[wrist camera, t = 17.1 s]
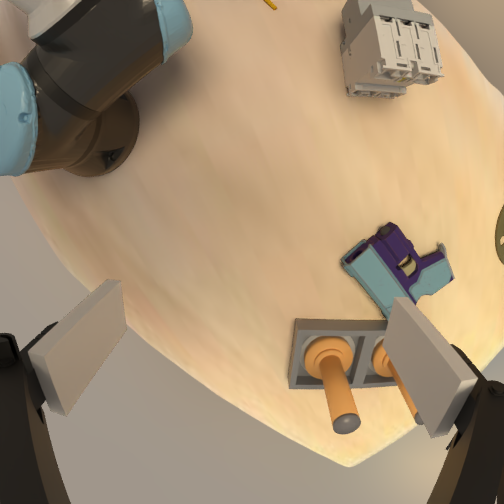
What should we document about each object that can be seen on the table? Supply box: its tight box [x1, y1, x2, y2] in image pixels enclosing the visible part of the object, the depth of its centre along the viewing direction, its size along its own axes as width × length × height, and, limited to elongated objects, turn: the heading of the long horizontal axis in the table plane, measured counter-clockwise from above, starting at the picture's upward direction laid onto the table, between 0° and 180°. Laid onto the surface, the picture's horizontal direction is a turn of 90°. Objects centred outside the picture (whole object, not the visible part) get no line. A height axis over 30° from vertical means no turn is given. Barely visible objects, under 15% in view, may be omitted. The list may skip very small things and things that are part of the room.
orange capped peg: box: [371, 338, 424, 425], centre depth 42 cm, size 8×8×17 cm
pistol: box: [341, 222, 455, 321], centre depth 45 cm, size 4×16×15 cm
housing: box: [288, 319, 398, 389], centre depth 49 cm, size 24×12×4 cm, turn 87°
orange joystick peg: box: [304, 336, 361, 434], centre depth 42 cm, size 8×8×17 cm
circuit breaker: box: [340, 0, 444, 99], centre depth 30 cm, size 8×14×15 cm, turn 5°
